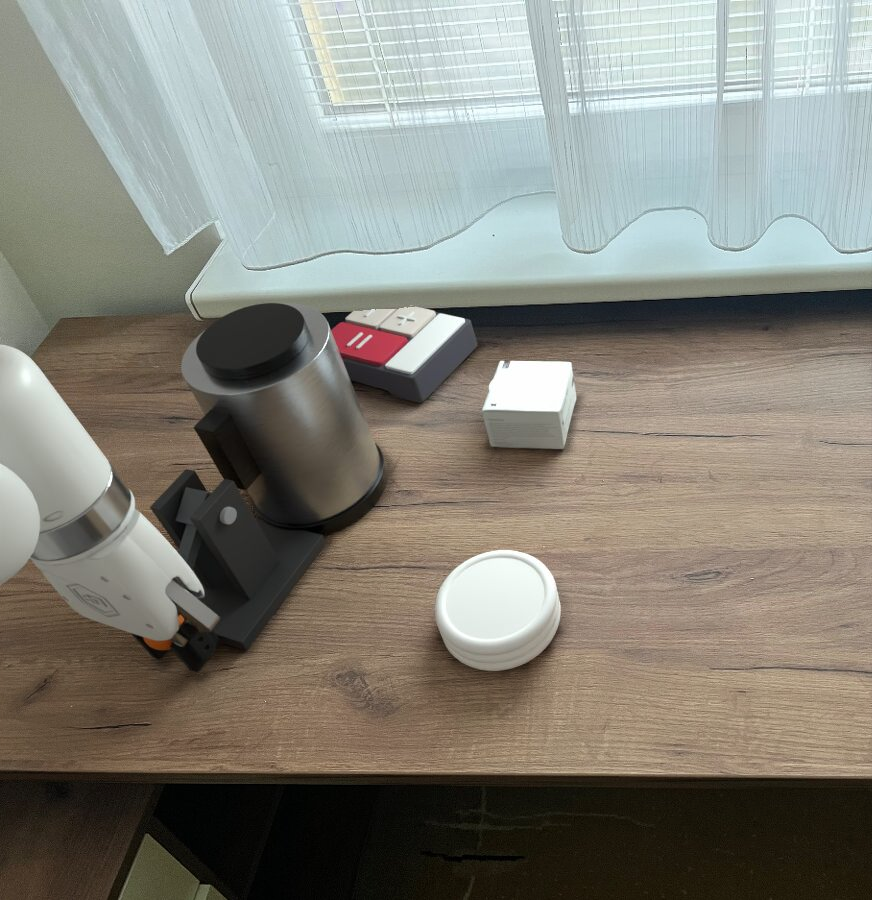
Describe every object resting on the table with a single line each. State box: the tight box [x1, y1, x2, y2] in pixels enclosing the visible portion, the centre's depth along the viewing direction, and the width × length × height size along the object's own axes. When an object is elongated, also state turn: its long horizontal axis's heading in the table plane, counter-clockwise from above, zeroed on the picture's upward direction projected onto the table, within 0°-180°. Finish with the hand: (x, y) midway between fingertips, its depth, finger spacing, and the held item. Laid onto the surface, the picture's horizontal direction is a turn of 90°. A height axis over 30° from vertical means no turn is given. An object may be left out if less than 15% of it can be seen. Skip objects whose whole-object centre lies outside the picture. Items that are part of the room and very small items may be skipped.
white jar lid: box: [434, 549, 562, 672], centre depth 71 cm, size 10×10×4 cm
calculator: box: [331, 306, 479, 404], centre depth 98 cm, size 11×4×15 cm
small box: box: [481, 360, 577, 450], centre depth 88 cm, size 8×8×5 cm
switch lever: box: [143, 487, 212, 651], centre depth 71 cm, size 13×3×3 cm
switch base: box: [149, 468, 327, 651], centre depth 74 cm, size 12×9×12 cm
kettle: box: [180, 302, 389, 536], centre depth 79 cm, size 15×13×19 cm
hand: (187, 649), depth 73 cm, fingers closed on switch lever, 3 cm apart
